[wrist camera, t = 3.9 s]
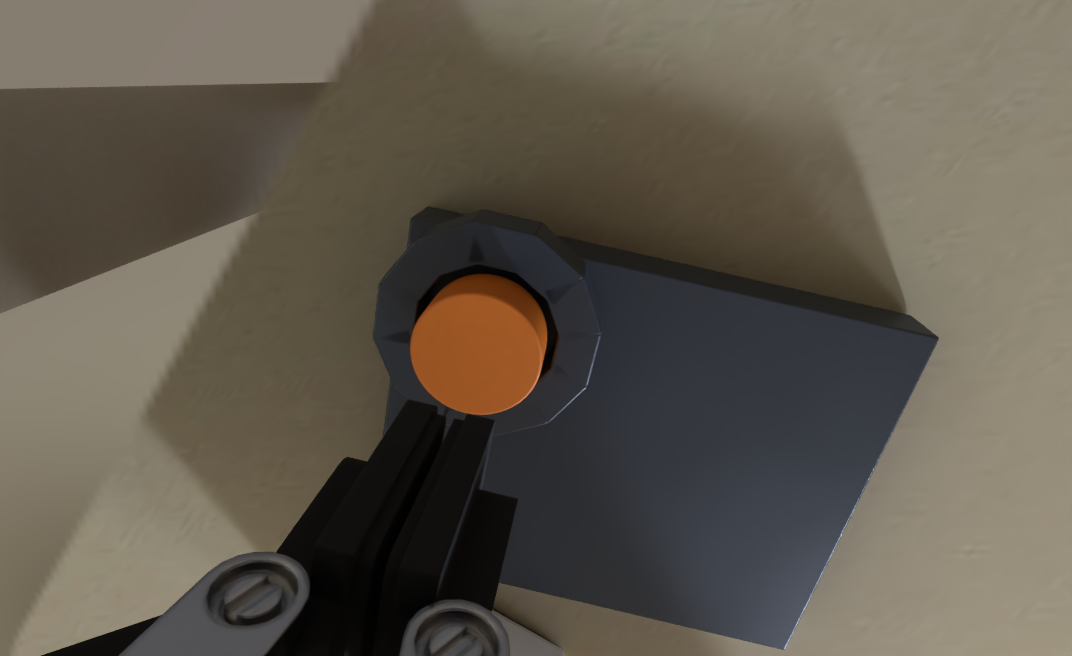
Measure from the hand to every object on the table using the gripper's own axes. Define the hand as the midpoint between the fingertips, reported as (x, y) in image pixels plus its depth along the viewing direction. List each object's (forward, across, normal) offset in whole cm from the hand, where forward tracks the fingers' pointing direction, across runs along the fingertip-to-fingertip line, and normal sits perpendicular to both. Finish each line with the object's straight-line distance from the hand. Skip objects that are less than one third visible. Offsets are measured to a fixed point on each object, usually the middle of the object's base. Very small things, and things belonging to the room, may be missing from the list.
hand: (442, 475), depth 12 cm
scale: (+10, -4, +4) cm, 12 cm away
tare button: (+7, +1, 0) cm, 7 cm away
